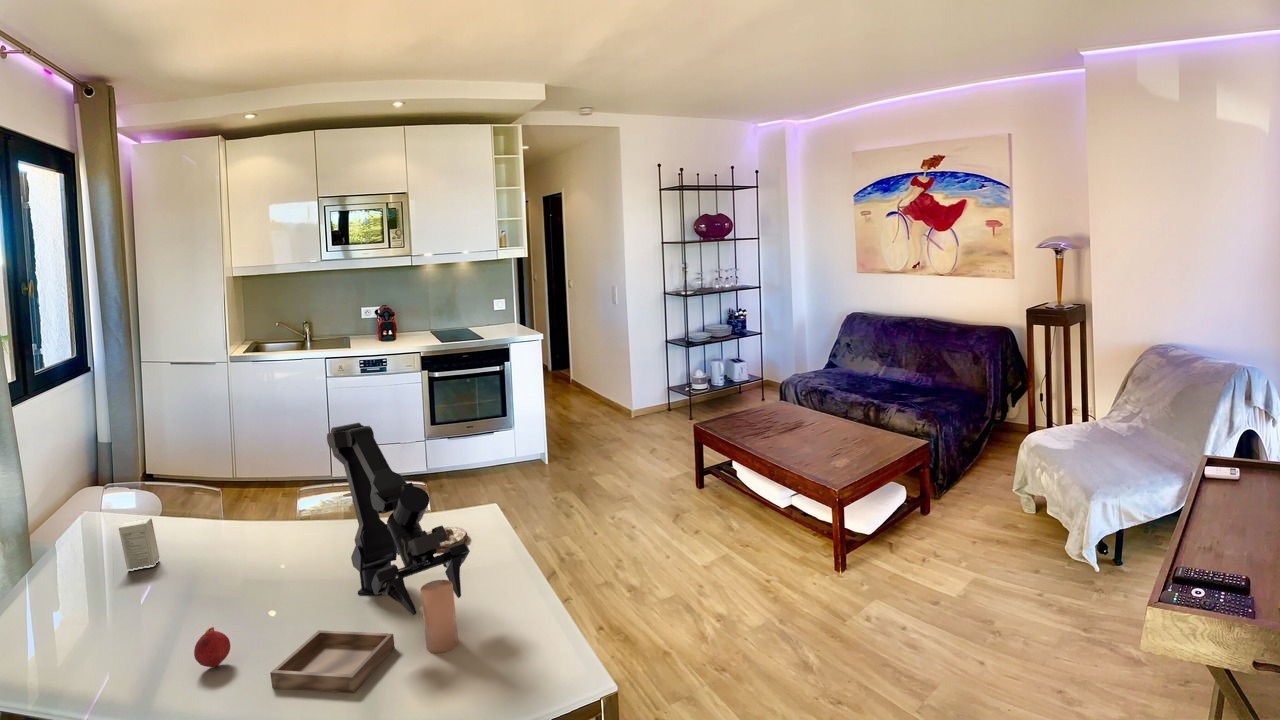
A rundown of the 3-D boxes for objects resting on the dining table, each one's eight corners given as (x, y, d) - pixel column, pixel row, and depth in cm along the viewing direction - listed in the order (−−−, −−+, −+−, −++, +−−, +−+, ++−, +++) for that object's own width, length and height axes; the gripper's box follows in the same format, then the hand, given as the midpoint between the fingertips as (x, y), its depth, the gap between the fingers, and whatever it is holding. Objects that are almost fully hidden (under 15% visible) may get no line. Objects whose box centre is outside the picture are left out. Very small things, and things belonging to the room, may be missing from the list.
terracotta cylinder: (420, 652, 132) (414, 594, 130) (435, 635, 138) (429, 579, 136) (450, 653, 131) (444, 595, 129) (463, 636, 137) (457, 580, 135)
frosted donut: (414, 538, 189) (412, 524, 188) (469, 529, 193) (468, 515, 193) (414, 560, 175) (413, 544, 174) (474, 549, 180) (473, 534, 179)
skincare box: (160, 561, 181) (153, 517, 179) (155, 568, 177) (147, 523, 175) (132, 565, 179) (124, 521, 177) (125, 572, 175) (117, 527, 173)
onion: (215, 677, 127) (209, 637, 126) (189, 675, 128) (183, 635, 127) (239, 659, 133) (233, 620, 132) (214, 657, 134) (208, 619, 133)
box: (272, 688, 123) (270, 672, 123) (320, 644, 137) (318, 630, 136) (353, 693, 120) (352, 677, 120) (394, 647, 134) (393, 633, 134)
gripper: (369, 530, 129) (399, 605, 122) (461, 503, 141) (492, 570, 134) (359, 558, 136) (387, 630, 129) (447, 530, 148) (476, 595, 141)
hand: (438, 605), depth 133 cm, fingers open, 9 cm apart
